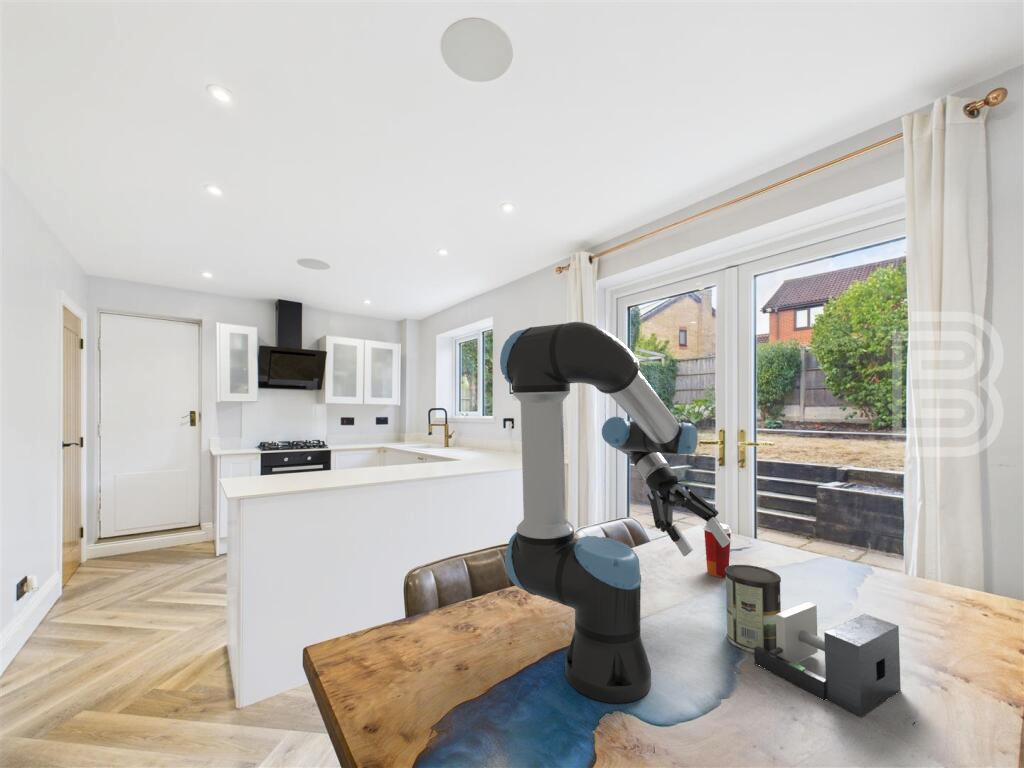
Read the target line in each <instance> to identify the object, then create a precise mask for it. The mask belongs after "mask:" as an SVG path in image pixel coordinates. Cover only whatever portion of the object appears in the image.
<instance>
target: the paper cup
mask: <svg viewBox="0 0 1024 768" xmlns="http://www.w3.org/2000/svg"><path fill="white" fill-rule="evenodd" d="M719 524H720V525H721V526H722V528H723V530H724V531H725V533H726V534H727V536H728V537H729V538H730V539H731V535H732V534H731V533H732V529H731V526H730V525H728V524H727V523H726V524H725V523H720V522H719ZM702 530H703V531H704V545H705V560H706V569H707V574H708V575H709V576H712V577H715V576H716V577H715V578H726V573H725V568H726V567H728V566H730V552H731V542H730V543H729V544H728V545H726V546H725V547H723V548H722V546H721V545H720V543H719V542H718V541H717V539H716V538H715V536H714V535H713V533H712V532H711V531H710V529H709V528H708V526H707V525H706V523H705V524H704V525H703V527H702Z"/></svg>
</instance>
